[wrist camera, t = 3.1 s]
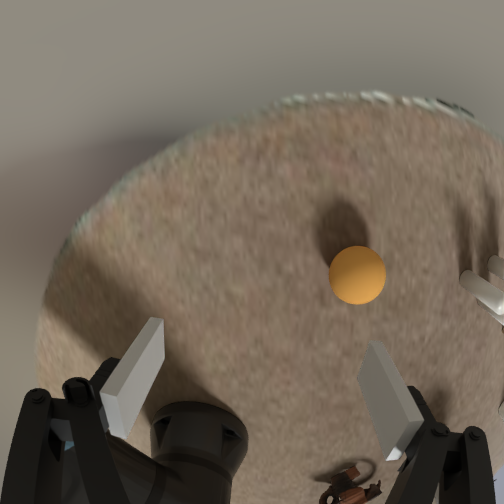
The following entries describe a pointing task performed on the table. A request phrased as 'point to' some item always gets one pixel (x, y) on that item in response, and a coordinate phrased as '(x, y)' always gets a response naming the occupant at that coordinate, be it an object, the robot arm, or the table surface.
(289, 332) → the table surface
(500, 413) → the white cup
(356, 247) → the ball
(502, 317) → the pin
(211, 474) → the robot arm
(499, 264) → the pin
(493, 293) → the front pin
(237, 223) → the table surface
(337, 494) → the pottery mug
